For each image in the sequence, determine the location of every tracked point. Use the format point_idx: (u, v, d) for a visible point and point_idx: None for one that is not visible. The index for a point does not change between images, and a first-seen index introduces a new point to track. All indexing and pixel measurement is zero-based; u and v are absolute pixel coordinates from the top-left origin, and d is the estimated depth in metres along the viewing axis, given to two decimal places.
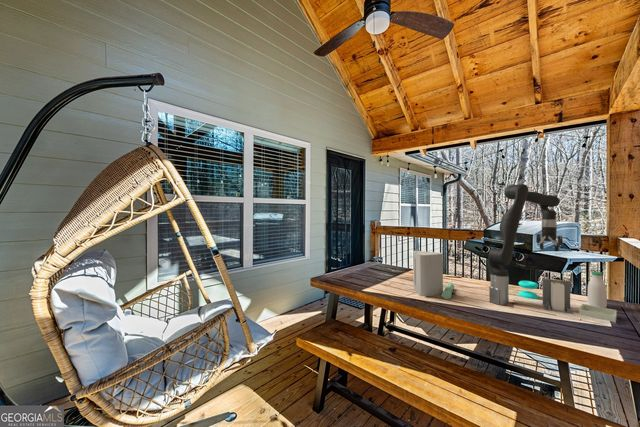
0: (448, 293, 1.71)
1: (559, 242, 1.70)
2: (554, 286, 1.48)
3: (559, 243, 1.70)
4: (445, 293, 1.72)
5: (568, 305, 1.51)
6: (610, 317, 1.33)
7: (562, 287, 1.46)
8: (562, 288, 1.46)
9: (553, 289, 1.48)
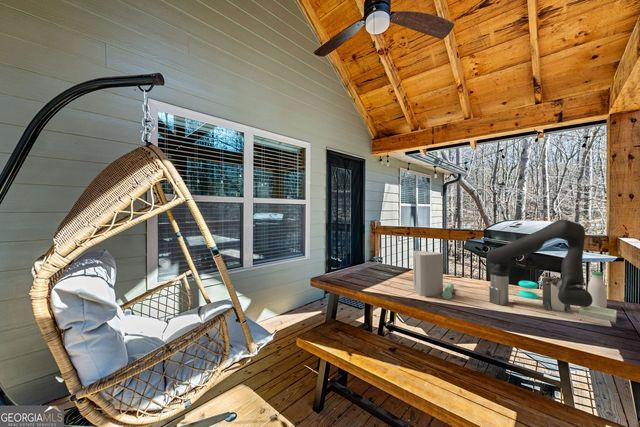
0: (448, 293, 1.71)
1: (546, 278, 1.39)
2: (554, 286, 1.48)
3: (545, 278, 1.40)
4: (445, 293, 1.72)
5: (568, 305, 1.51)
6: (610, 317, 1.33)
7: None
8: None
9: (553, 289, 1.48)
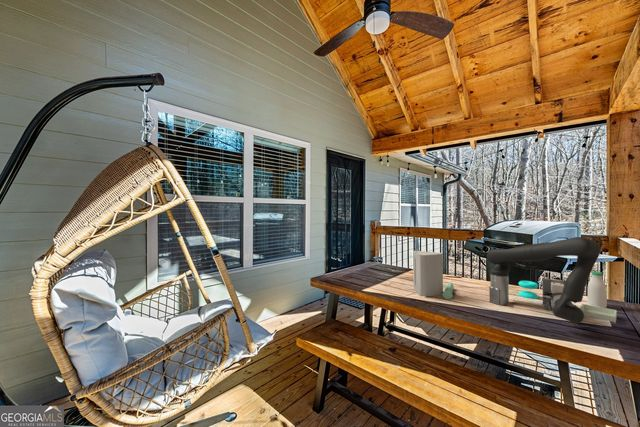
0: (449, 293, 1.71)
1: (545, 292, 1.50)
2: (554, 286, 1.48)
3: (545, 292, 1.50)
4: (446, 293, 1.72)
5: None
6: (610, 317, 1.33)
7: (562, 287, 1.46)
8: (562, 288, 1.46)
9: (553, 289, 1.48)
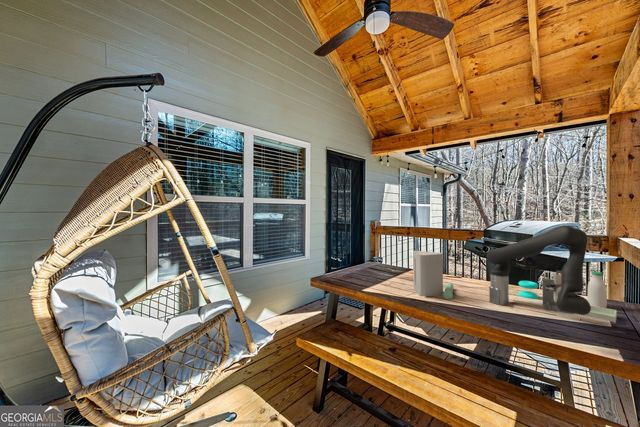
0: (449, 293, 1.71)
1: (548, 284, 1.39)
2: (557, 277, 1.37)
3: (548, 283, 1.40)
4: (446, 293, 1.72)
5: None
6: (610, 317, 1.33)
7: None
8: None
9: (556, 280, 1.38)
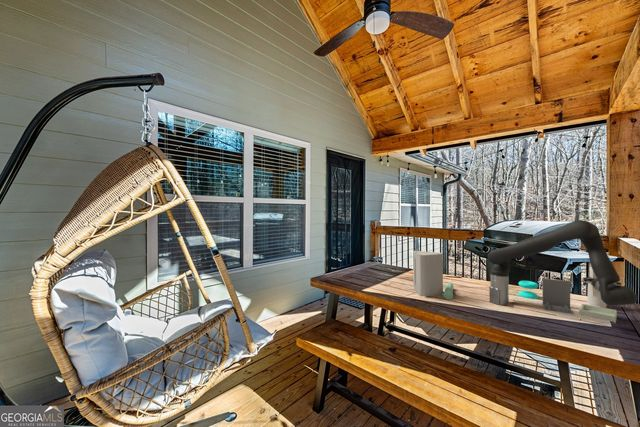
0: (450, 293, 1.71)
1: (585, 278, 1.41)
2: None
3: (585, 278, 1.41)
4: (447, 293, 1.72)
5: (568, 305, 1.51)
6: (610, 317, 1.33)
7: None
8: None
9: (593, 274, 1.39)
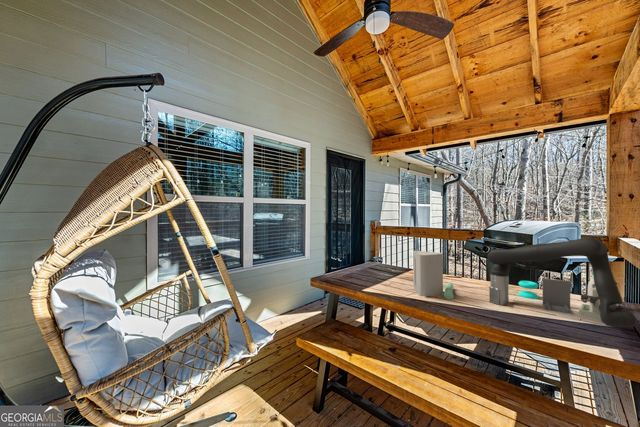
0: (450, 293, 1.71)
1: (582, 295, 1.41)
2: (594, 291, 1.39)
3: (582, 295, 1.41)
4: (447, 293, 1.72)
5: (568, 305, 1.51)
6: None
7: None
8: None
9: (593, 294, 1.39)
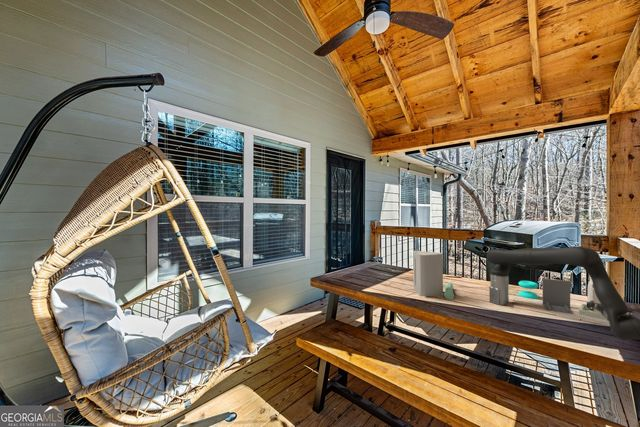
0: (451, 293, 1.71)
1: (588, 303, 1.30)
2: (594, 291, 1.39)
3: (588, 302, 1.31)
4: (447, 293, 1.72)
5: (568, 305, 1.51)
6: None
7: None
8: None
9: (593, 294, 1.39)
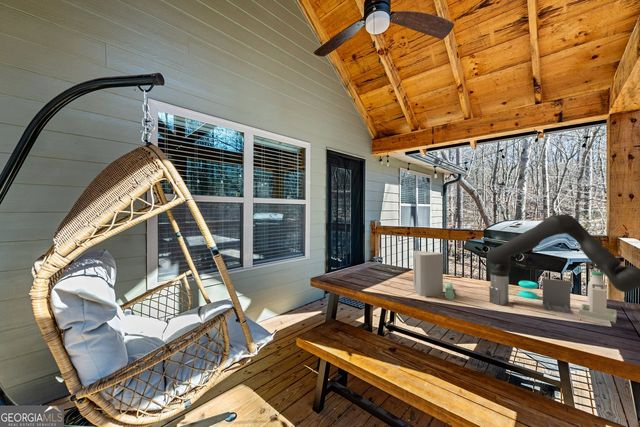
0: (451, 293, 1.71)
1: (588, 262, 1.30)
2: (594, 291, 1.39)
3: (588, 262, 1.30)
4: (448, 293, 1.71)
5: (568, 305, 1.51)
6: (610, 317, 1.33)
7: (604, 292, 1.37)
8: (604, 293, 1.37)
9: (593, 294, 1.39)
